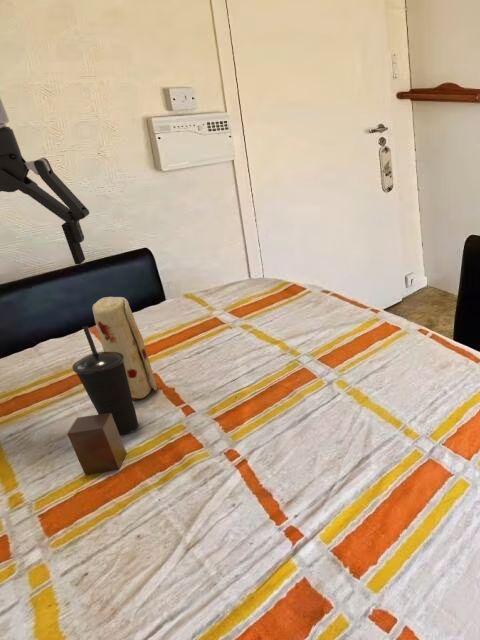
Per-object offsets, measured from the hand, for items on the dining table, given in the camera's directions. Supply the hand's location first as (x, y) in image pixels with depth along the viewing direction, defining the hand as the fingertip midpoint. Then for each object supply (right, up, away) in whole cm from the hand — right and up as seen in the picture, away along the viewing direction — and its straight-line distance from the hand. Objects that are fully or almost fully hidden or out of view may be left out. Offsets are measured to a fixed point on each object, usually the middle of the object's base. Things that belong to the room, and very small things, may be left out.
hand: (34, 265), depth 103 cm
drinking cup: (+8, -28, +10) cm, 31 cm away
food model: (+5, -22, +22) cm, 31 cm away
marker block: (+11, -33, +1) cm, 35 cm away
